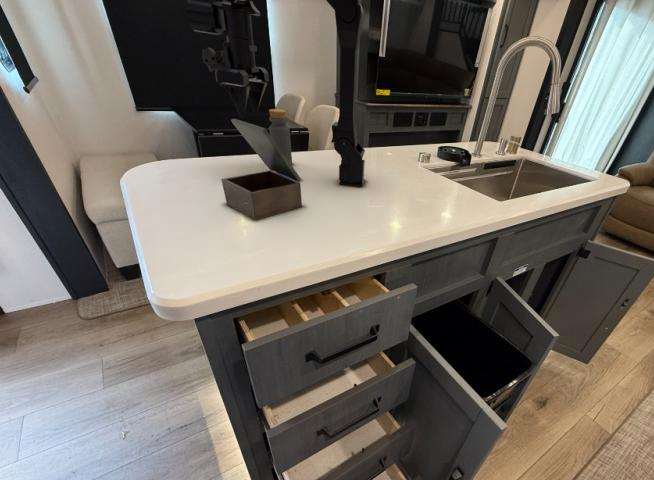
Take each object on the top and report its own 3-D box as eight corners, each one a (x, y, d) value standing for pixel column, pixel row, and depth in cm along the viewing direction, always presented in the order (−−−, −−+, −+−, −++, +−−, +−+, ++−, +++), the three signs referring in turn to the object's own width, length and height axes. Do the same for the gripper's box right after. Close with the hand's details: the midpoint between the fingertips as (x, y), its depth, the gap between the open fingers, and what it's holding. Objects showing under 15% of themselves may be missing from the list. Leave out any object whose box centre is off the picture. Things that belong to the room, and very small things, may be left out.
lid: (262, 131, 61) (265, 128, 61) (230, 120, 66) (233, 117, 66) (299, 181, 72) (301, 179, 72) (269, 169, 78) (271, 166, 78)
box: (255, 220, 68) (250, 193, 65) (226, 204, 73) (221, 178, 70) (302, 206, 76) (300, 182, 73) (273, 193, 81) (270, 169, 78)
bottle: (289, 168, 100) (285, 112, 91) (270, 166, 99) (264, 110, 90) (294, 163, 104) (290, 110, 95) (276, 161, 104) (270, 108, 95)
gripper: (222, 35, 82) (232, 106, 91) (183, 30, 67) (199, 115, 76) (266, 42, 82) (271, 111, 91) (237, 38, 67) (247, 122, 77)
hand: (248, 114), depth 84 cm, fingers open, 9 cm apart
